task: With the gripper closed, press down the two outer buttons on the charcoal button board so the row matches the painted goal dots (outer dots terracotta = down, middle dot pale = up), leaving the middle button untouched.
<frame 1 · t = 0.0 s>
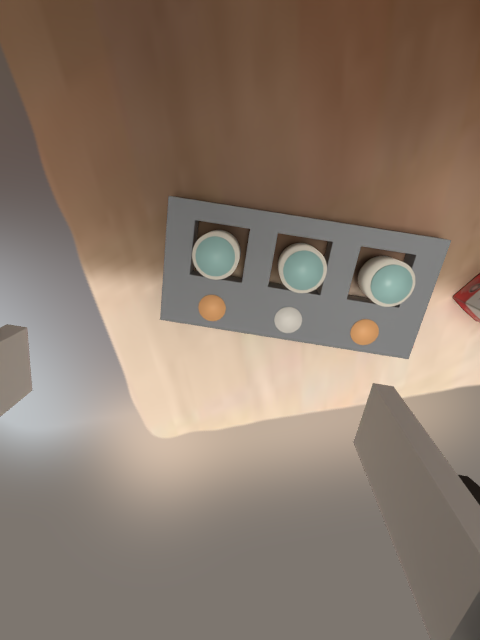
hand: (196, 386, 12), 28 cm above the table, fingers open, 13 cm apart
board: (293, 277, 39), on the table
button a: (217, 254, 35), point 4 cm above the table, slide at 0.0 cm
button c: (385, 280, 34), point 4 cm above the table, slide at 0.0 cm
button b: (301, 267, 35), point 4 cm above the table, slide at 0.0 cm
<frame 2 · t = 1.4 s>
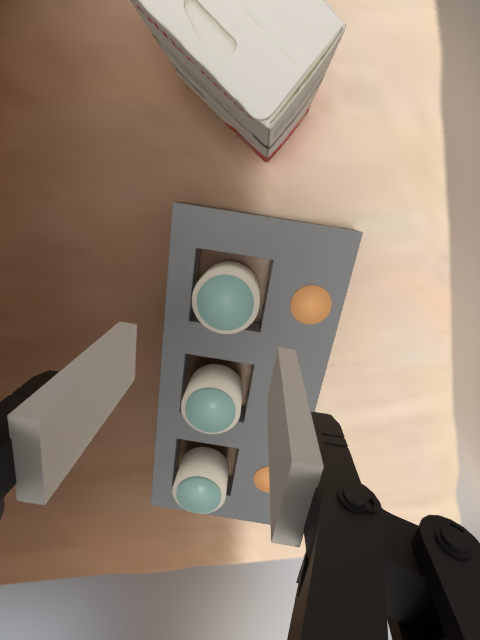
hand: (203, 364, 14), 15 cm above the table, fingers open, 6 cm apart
board: (239, 378, 31), on the table
button a: (201, 480, 31), point 4 cm above the table, slide at 0.0 cm
ink box: (245, 94, 24), on the table
button c: (227, 297, 24), point 4 cm above the table, slide at 0.0 cm
button b: (213, 399, 27), point 4 cm above the table, slide at 0.0 cm
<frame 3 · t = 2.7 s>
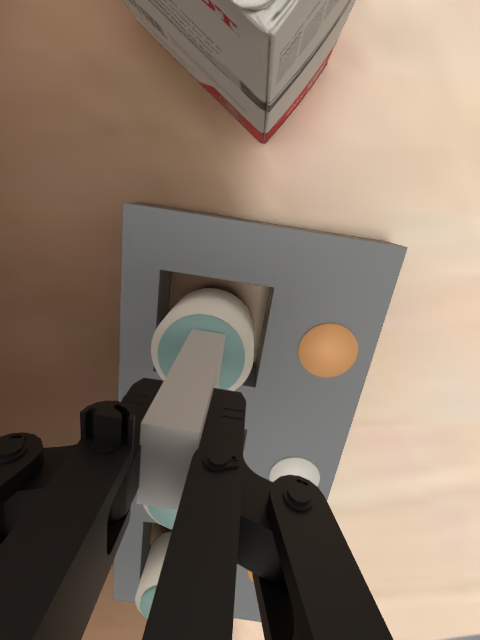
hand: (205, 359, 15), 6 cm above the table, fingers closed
board: (228, 439, 23), on the table
button a: (176, 580, 23), point 4 cm above the table, slide at 0.0 cm
ink box: (231, 41, 16), on the table
button c: (206, 342, 17), point 4 cm above the table, slide at 0.1 cm, touching gripper
button b: (189, 480, 19), point 4 cm above the table, slide at 0.0 cm
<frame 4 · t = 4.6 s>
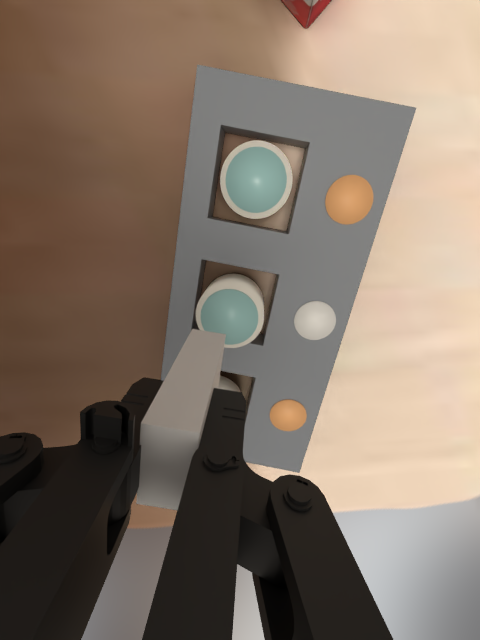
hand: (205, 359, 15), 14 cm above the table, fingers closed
board: (258, 300, 28), on the table
button a: (212, 410, 27), point 4 cm above the table, slide at 0.0 cm
button c: (256, 182, 23), point 2 cm above the table, slide at 2.1 cm
button b: (231, 310, 24), point 4 cm above the table, slide at 0.0 cm
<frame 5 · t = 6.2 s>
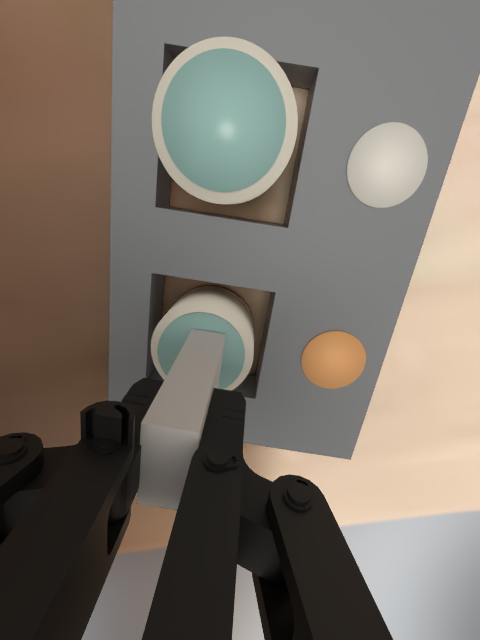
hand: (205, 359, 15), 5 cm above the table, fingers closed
board: (275, 158, 16), on the table
button a: (206, 340, 17), point 3 cm above the table, slide at 1.5 cm, touching gripper
button b: (227, 135, 12), point 4 cm above the table, slide at 0.0 cm
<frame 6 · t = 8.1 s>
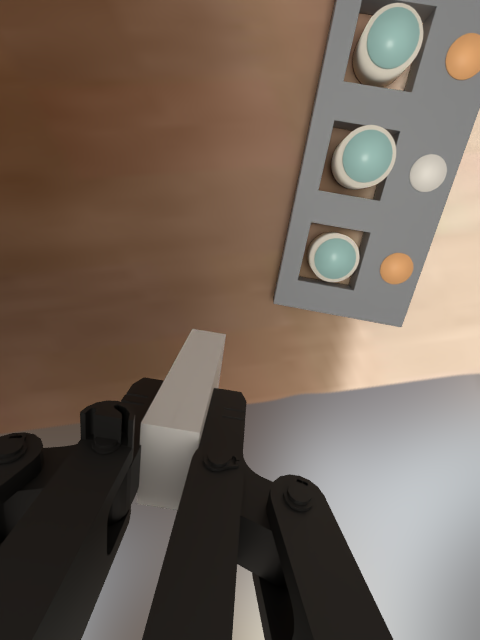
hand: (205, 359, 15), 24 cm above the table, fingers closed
board: (371, 168, 33), on the table
button a: (332, 256, 34), point 2 cm above the table, slide at 2.1 cm
button c: (386, 48, 28), point 2 cm above the table, slide at 2.1 cm
button b: (362, 159, 29), point 4 cm above the table, slide at 0.0 cm
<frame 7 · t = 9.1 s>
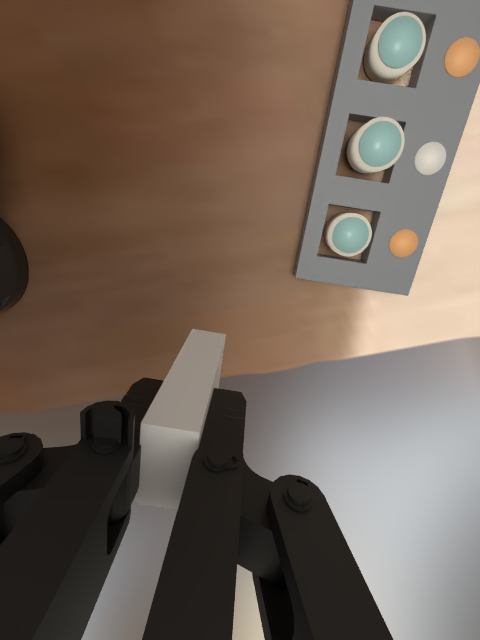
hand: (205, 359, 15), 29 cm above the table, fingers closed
board: (380, 155, 37), on the table
button a: (347, 234, 39), point 2 cm above the table, slide at 2.1 cm
button c: (393, 50, 33), point 2 cm above the table, slide at 2.1 cm
button b: (374, 147, 34), point 4 cm above the table, slide at 0.0 cm
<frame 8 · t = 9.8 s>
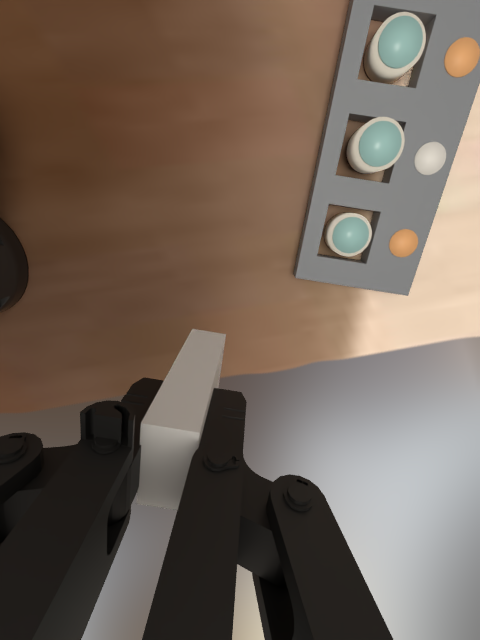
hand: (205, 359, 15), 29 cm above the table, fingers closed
board: (380, 155, 37), on the table
button a: (347, 234, 39), point 2 cm above the table, slide at 2.1 cm
button c: (393, 50, 33), point 2 cm above the table, slide at 2.1 cm
button b: (374, 147, 34), point 4 cm above the table, slide at 0.0 cm
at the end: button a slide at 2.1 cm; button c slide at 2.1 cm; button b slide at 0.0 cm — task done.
